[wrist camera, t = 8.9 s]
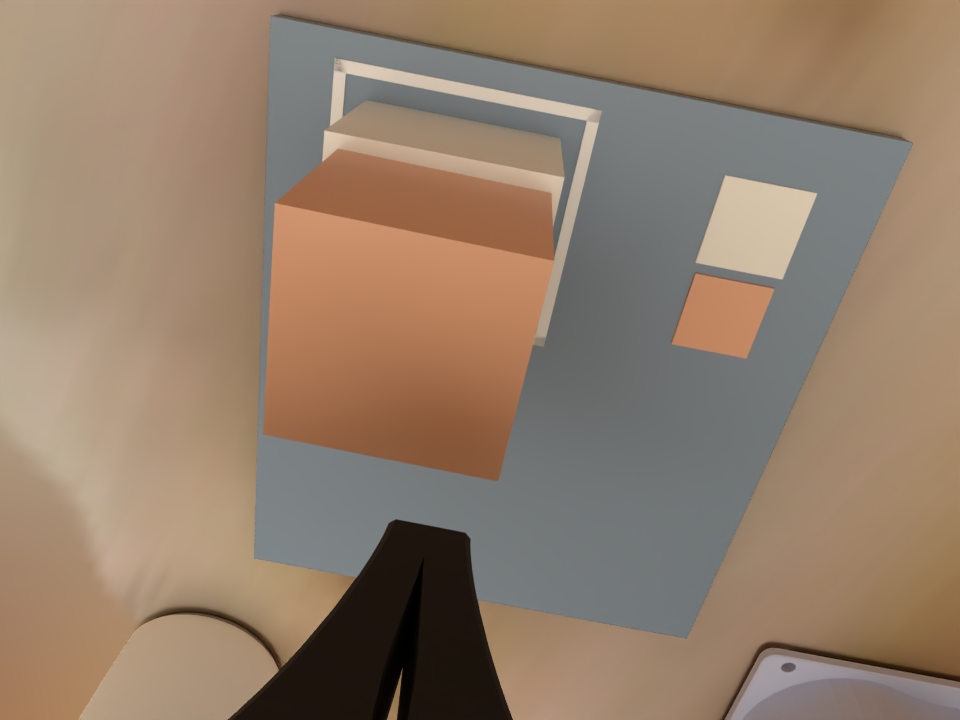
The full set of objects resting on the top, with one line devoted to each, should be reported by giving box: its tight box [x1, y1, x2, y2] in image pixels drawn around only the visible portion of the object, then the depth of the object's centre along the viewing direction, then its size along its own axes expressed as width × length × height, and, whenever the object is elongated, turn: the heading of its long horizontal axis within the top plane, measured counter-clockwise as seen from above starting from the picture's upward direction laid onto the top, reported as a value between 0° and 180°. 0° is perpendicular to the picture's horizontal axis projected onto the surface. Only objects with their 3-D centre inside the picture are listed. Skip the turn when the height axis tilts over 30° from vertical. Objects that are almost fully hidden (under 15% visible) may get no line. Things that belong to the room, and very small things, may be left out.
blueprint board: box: [254, 15, 913, 639], centre depth 22 cm, size 16×18×1 cm
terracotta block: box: [263, 149, 554, 481], centre depth 14 cm, size 4×4×4 cm
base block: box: [322, 100, 565, 225], centre depth 18 cm, size 5×5×4 cm
